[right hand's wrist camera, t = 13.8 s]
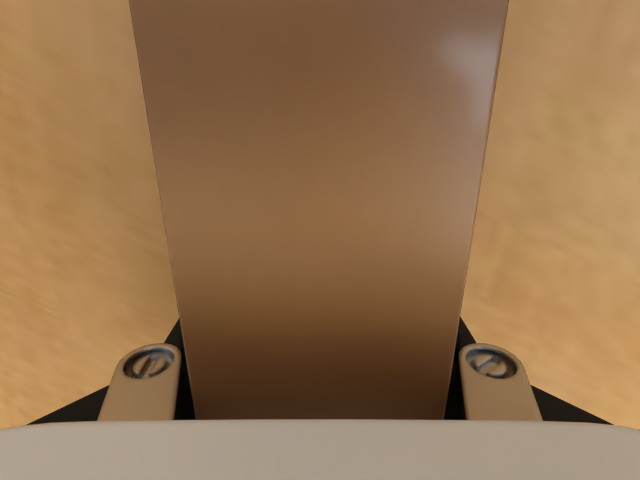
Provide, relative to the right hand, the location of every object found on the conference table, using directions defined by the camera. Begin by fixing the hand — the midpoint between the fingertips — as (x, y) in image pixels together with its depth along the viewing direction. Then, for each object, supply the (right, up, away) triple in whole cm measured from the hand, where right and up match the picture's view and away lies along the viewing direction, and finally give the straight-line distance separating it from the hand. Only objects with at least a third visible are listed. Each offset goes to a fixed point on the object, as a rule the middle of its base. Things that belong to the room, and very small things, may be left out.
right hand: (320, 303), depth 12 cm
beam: (0, +28, -7) cm, 29 cm away
